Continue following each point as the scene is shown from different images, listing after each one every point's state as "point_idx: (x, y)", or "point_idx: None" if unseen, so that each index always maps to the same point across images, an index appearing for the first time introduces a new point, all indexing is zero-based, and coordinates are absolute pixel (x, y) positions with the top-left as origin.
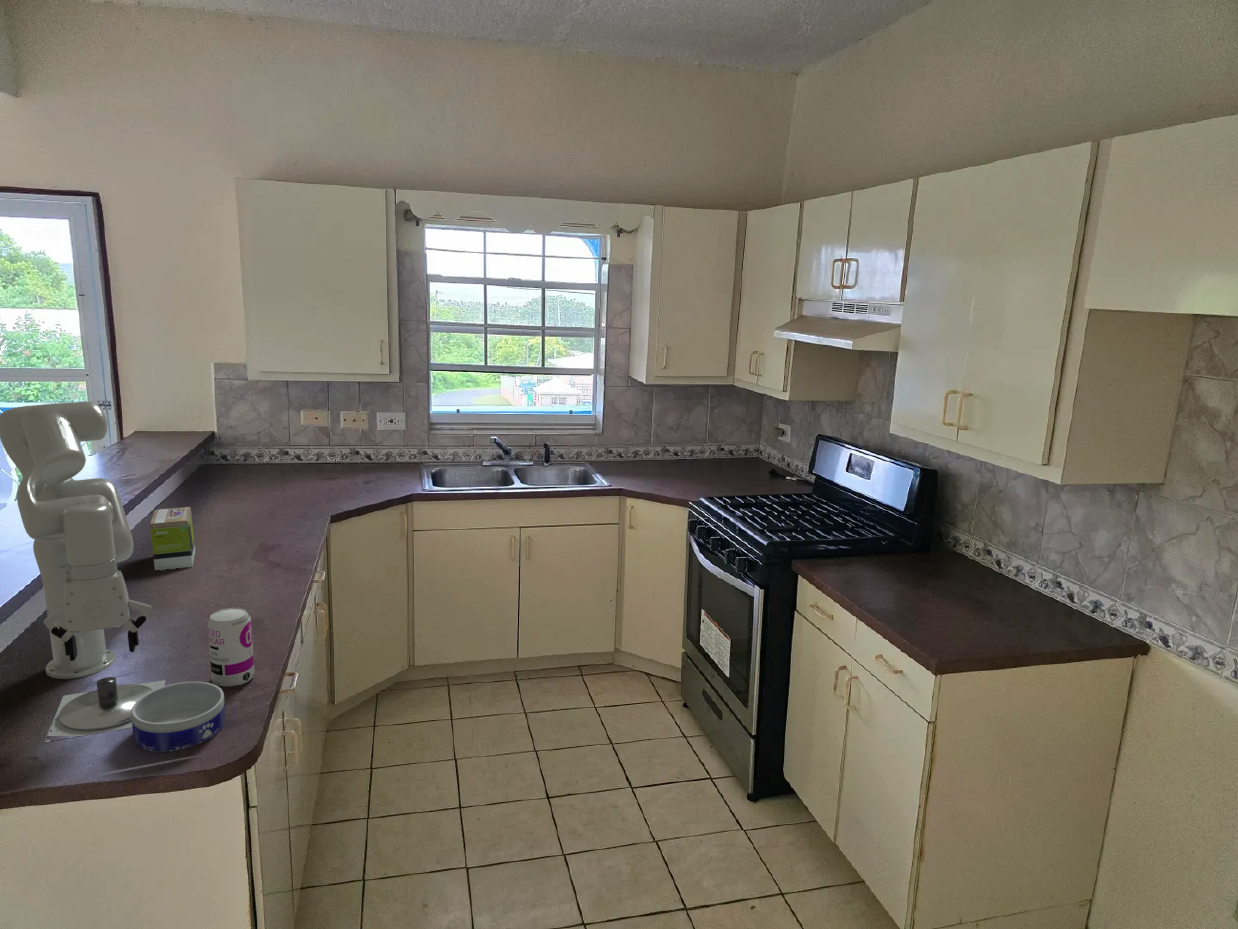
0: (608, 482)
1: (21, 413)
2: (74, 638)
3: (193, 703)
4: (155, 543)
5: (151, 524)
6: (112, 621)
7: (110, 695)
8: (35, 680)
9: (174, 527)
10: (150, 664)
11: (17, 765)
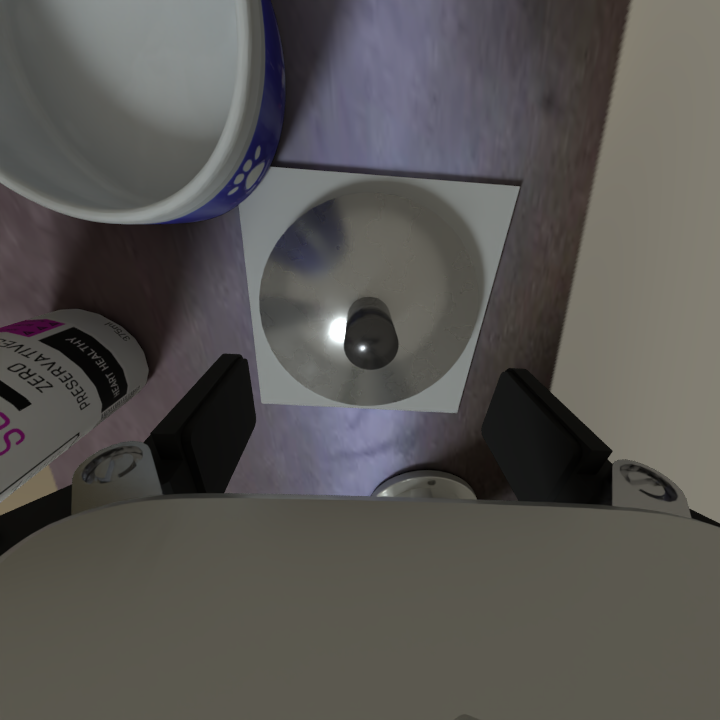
0: None
1: None
2: (539, 498)
3: (128, 203)
4: None
5: None
6: (180, 603)
7: (361, 308)
8: (493, 486)
9: None
10: (305, 476)
11: (599, 72)
